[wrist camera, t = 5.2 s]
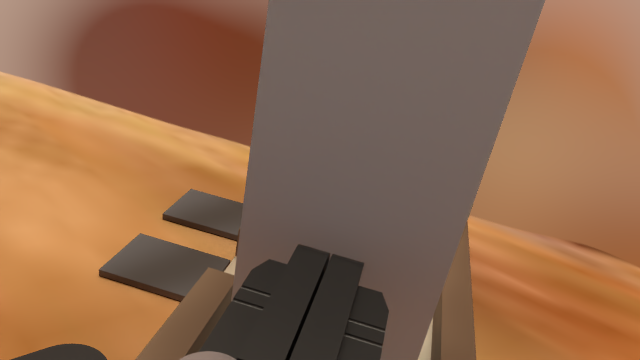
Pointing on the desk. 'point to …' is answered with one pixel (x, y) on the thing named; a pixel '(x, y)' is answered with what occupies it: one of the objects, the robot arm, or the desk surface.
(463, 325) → the trap lane
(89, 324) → the desk surface
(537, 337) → the desk surface
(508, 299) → the desk surface
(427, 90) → the block
